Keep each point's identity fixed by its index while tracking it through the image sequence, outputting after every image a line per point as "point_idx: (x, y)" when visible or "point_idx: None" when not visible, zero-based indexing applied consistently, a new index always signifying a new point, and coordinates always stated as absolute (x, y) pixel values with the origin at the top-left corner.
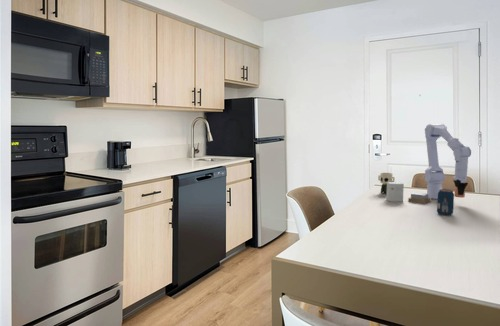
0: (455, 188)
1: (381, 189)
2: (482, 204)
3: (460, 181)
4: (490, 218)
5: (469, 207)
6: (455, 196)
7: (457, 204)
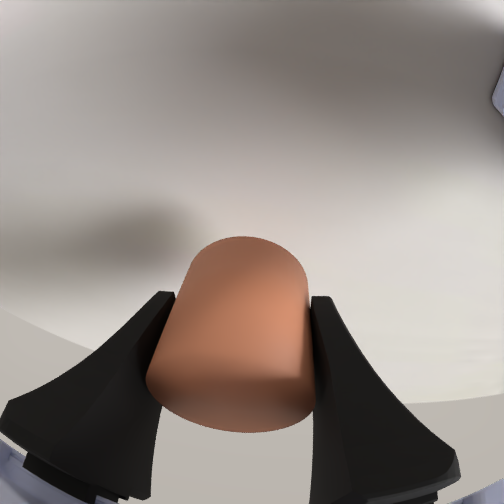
0: (188, 336)
1: None
2: None
3: (25, 467)
4: (13, 305)
5: None
6: (211, 245)
7: (287, 224)
